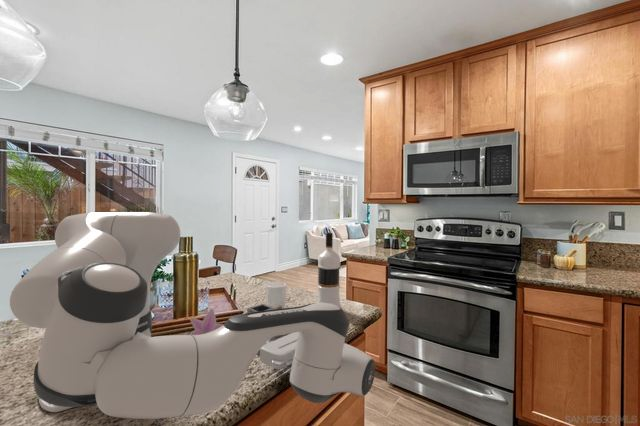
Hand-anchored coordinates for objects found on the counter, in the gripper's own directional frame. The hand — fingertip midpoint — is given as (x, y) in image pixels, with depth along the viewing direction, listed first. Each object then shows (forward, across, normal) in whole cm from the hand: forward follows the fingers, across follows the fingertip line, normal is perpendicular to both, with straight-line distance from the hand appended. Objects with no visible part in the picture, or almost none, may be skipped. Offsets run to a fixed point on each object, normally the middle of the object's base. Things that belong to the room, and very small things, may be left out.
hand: (278, 334), depth 83 cm
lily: (+17, -12, -6) cm, 22 cm away
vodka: (+11, +34, -5) cm, 36 cm away
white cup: (+27, +21, -5) cm, 34 cm away
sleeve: (+7, 0, -6) cm, 9 cm away
